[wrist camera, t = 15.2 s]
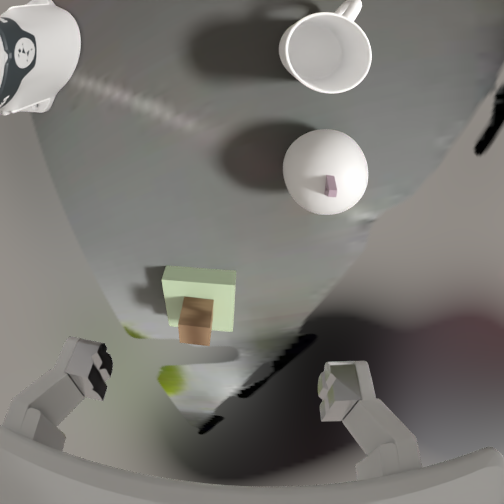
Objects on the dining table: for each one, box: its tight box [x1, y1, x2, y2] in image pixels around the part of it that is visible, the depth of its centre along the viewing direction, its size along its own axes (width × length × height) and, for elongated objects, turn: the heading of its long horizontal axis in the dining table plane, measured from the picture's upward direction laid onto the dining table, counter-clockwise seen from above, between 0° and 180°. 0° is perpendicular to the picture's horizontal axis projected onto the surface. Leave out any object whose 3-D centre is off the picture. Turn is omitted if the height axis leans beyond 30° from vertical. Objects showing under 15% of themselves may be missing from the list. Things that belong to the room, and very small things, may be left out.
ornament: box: [283, 129, 368, 215], centre depth 36 cm, size 10×10×12 cm
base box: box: [162, 266, 236, 332], centre depth 55 cm, size 12×12×4 cm
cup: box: [279, 0, 372, 93], centre depth 27 cm, size 8×12×10 cm
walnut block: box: [178, 297, 214, 346], centre depth 51 cm, size 5×5×6 cm
